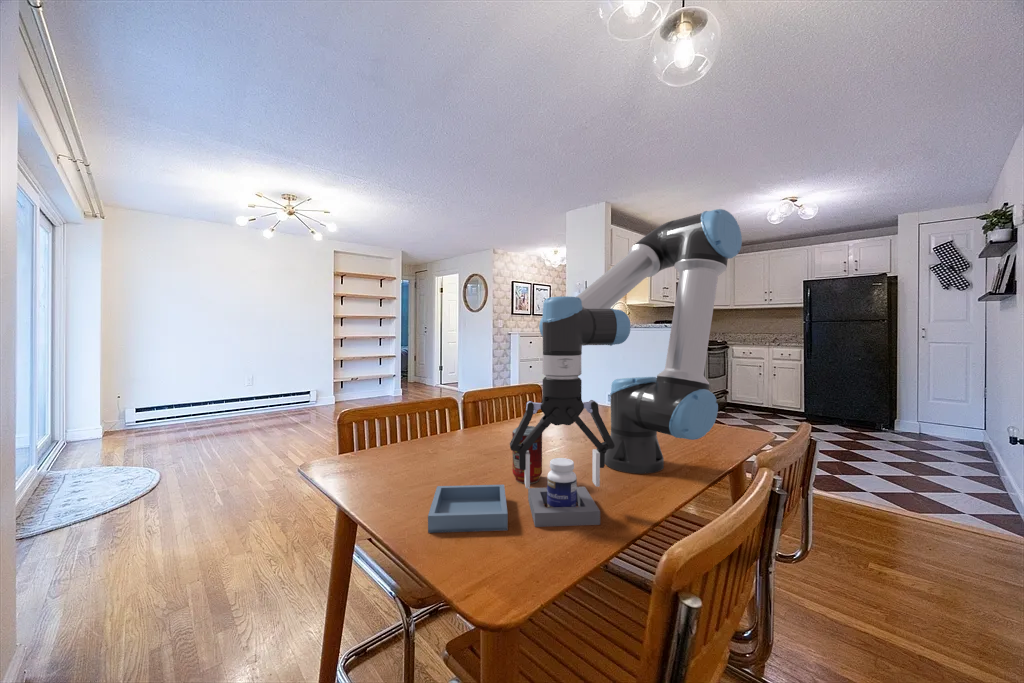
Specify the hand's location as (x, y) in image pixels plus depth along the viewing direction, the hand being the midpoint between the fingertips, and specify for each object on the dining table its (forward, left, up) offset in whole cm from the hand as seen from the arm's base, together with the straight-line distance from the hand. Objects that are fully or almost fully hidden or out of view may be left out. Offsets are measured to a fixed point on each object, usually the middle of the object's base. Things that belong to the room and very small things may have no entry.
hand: (561, 485), depth 82 cm
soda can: (+5, -18, -6) cm, 19 cm away
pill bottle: (0, 0, -6) cm, 6 cm away
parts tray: (+18, 0, -5) cm, 19 cm away
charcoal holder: (0, 0, -5) cm, 5 cm away
